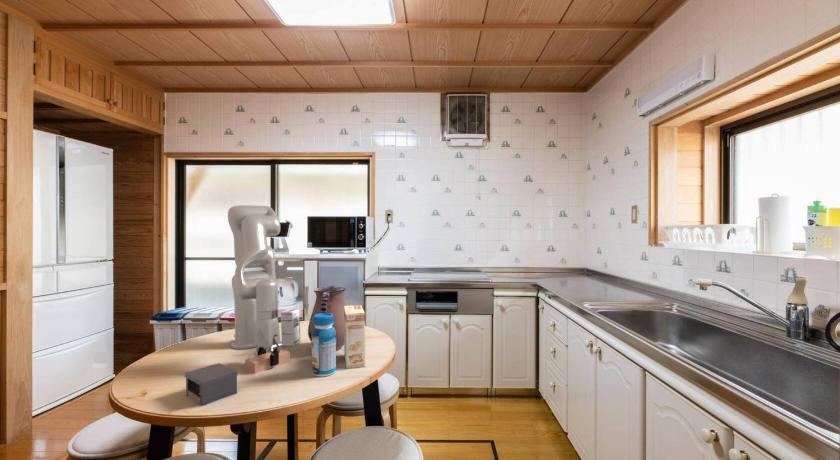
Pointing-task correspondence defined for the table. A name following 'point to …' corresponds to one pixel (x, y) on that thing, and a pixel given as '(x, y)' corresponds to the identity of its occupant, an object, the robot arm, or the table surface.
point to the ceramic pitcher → (330, 310)
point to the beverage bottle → (323, 345)
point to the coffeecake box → (354, 336)
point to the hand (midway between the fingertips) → (268, 362)
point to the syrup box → (290, 327)
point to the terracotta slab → (265, 362)
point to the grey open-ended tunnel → (211, 383)
